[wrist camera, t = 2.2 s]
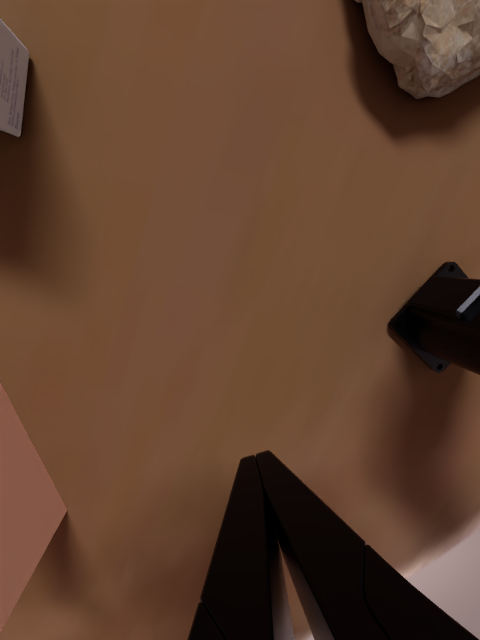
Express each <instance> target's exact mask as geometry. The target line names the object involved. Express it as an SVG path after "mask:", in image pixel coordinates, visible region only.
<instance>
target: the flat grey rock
mask: <svg viewBox="0 0 480 640" xmlns="http://www.w3.org/2000/svg"><path fill="white" fill-rule="evenodd" d="M355 1H356V2H358V3H361V2H362V3H363V8H364V13H365V18H366V23H367V28H368V32H369V34H370V36H371V38H372V40H373V42H374V44H375V46H376V48H377V50H378V52H379V54H380V55H382V56H383V57H384V58H385V59H387V60H388V61H389V62H390V63H392V64H393V66H394V69H395V73H396V76H397V81H398V86H399V87H400V88H402V89H403V90H405V91H407V92H408V93H409V94H411V95H412V96H413V97H415V98H416V99H420V98H424V97H427V96H428V97H438V98H439V97H442V96H444V95H446V94H449V93H451V92H452V91H454V90H455V89H457V88H458V87H460V86H461V85H463V84H465V83H467V82H469V81H471V80H473V79H474V78H476V77H478V76H479V75H480V0H355Z"/></svg>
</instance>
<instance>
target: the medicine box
mask: <svg viewBox="0 0 480 640" xmlns="http://www.w3.org/2000/svg"><path fill="white" fill-rule="evenodd" d="M28 61H29V52H28V50H27V48H26V47H25V46H24V45H23V44H22V43H21V42H20V40H19V39H18V38H17V37H16V36H15V35H14V34H13V32H12V31H11V30H10V29H9V28H8V27H7V26H6V25H5V24H4V22H3V21H2V20H1V19H0V130H1V131H4V132H7V133H9V134H12V135H14V136H16V137H20V135H21V127H22V118H23V108H24V99H25V89H26V79H27V70H28Z"/></svg>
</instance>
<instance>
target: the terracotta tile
mask: <svg viewBox="0 0 480 640" xmlns="http://www.w3.org/2000/svg"><path fill="white" fill-rule="evenodd" d="M66 512H67V509H66V507H65V505H64V503H63V501H62V499H61V497H60V495H59V493H58V492H57V490H56V488H55V486H54V484H53V482H52V480H51V478H50V476H49V474H48V472H47V471H46V469H45V467H44V465H43V463H42V461H41V459H40V457H39V455H38V453H37V451H36V450H35V448H34V446H33V444H32V442H31V440H30V438H29V436H28V434H27V432H26V431H25V429H24V427H23V425H22V423H21V421H20V419H19V417H18V415H17V413H16V411H15V410H14V408H13V406H12V404H11V402H10V400H9V398H8V396H7V394H6V392H5V390H4V389H3V387H2V385H1V383H0V632H1V630H2V629H3V627H4V625H5V623H6V621H7V619H8V618H9V616H10V614H11V612H12V610H13V609H14V607H15V605H16V603H17V601H18V599H19V598H20V596H21V594H22V592H23V590H24V588H25V587H26V585H27V583H28V581H29V579H30V577H31V576H32V574H33V572H34V570H35V568H36V566H37V565H38V563H39V561H40V559H41V557H42V556H43V554H44V552H45V550H46V548H47V546H48V545H49V543H50V541H51V539H52V537H53V535H54V534H55V532H56V530H57V528H58V526H59V524H60V523H61V521H62V519H63V517H64V515H65V513H66Z"/></svg>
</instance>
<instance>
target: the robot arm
mask: <svg viewBox="0 0 480 640" xmlns="http://www.w3.org/2000/svg"><path fill="white" fill-rule="evenodd" d="M449 267H450V269H449ZM448 269H449V270H448ZM397 322H398V325H397V326H396V323H397ZM389 326H390V328H391V329H392V330H393V331H394V332H395V333H396V334H397V335H398V336H399V337H400V338H401V339H402V340H403V341H404V342H405V343H406V344H407V345H408V346H409V347H410V348H411V349H412V350H413V351H414V352H415V353H416V354H417V355H418V356H419V358H420V359H421V360H422V361H423V362H424V363H425V364H426V365H427V366H428V367H429V368H430V369H431V370H433V371H435V372H438V373H439V372H442V371H443V370H444V369H445V368H446V367H447V366H448V365H449V364H450V363H452V364H455V365H457V366H460V367H462V368H464V369H467V370H469V371H471V372H474V373H476V374H479V375H480V279H469V278H468V277H467V276H466V275H465V273H464V272H463V271H462V270H461V268H460V267H459V266H458V265H457V264H456V263H455V262H445V263H444V264H443V265H442V266H441V267H440V268H439V269H438V270H437V271H436V272H435V273H434V274H433V275H432V276H431V277H430V278H429V279H428V280H427V281H426V283H425V284H424V285H423V286H422V287H421V288H420V289H419V290H418V291H417V292H416V293H415V294H414V295H413V296H412V298H411V299H410V300H409V301H408V302H407V303H406V304H405V305H404V306H403V308H402V309H401V310H400V311H399V312H398V313H397V314H396V315H395V316H394V317H393V318H392V319H391V321H390V323H389ZM437 366H438V367H437ZM274 527H275V528H274ZM275 531H276V532H275ZM277 538H278V539H277ZM278 542H279V544H278ZM279 545H280V548H281V551H282V554H283V557H284V560H285V562H286V565H287V568H288V570H289V573H290V576H291V578H292V581H293V584H294V586H295V589H296V592H297V594H298V597H299V600H300V602H301V605H302V607H303V610H304V613H305V615H306V618H307V621H308V623H309V626H310V629H311V631H312V634H313V637H314V639H315V640H479V639H478V638H476V637H475V636H474V635H473V634H471V633H470V632H469V631H468V630H466V629H465V628H464V627H463V626H461V625H460V624H459V623H458V622H456V621H455V620H454V619H453V618H451V617H450V616H449V615H447V614H446V613H445V612H444V611H443V610H442V609H440V608H439V607H438V606H437V605H435V604H434V603H433V602H432V601H431V600H429V599H428V598H427V597H426V596H425V595H423V594H422V593H421V592H420V591H418V590H417V589H416V588H415V587H414V586H413V585H411V584H410V583H409V582H408V581H407V580H406V579H405V578H404V577H403V576H402V575H400V574H399V573H398V572H397V571H396V570H395V569H394V568H393V567H392V566H391V565H389V564H388V563H387V562H386V561H385V560H384V559H383V558H382V557H381V556H380V555H379V554H378V553H377V552H376V551H375V550H374V549H372V548H371V547H370V546H369V545H366V543H365V541H364V540H363V539H362V538H361V537H360V536H359V535H358V534H357V533H355V532H354V531H353V530H352V529H351V528H350V527H349V526H348V525H347V524H346V523H345V522H344V521H343V520H342V519H341V518H340V517H339V516H338V515H337V514H336V513H335V512H333V511H332V510H331V509H330V508H329V507H328V506H327V505H326V504H325V503H324V502H323V501H322V500H321V499H320V498H319V497H318V496H317V495H316V494H315V493H314V492H313V491H311V490H310V489H309V488H308V487H307V486H306V485H305V484H304V483H303V482H302V481H301V480H300V479H299V478H298V477H297V476H296V475H295V474H294V473H293V472H292V471H291V470H289V469H288V468H287V467H286V466H285V465H284V464H283V463H282V462H281V461H280V460H279V459H278V458H277V457H276V456H275V455H274V454H273V453H272V452H271V451H269V450H267V451H264V452H260V453H257V454H256V457H255V456H254V455H251V456H248V457H244V458H242V459H241V460H240V463H239V466H238V470H237V473H236V477H235V480H234V483H233V487H232V490H231V494H230V497H229V501H228V504H227V507H226V511H225V514H224V518H223V521H222V524H221V528H220V531H219V535H218V538H217V542H216V545H215V548H214V552H213V555H212V559H211V562H210V566H209V569H208V572H207V576H206V579H205V583H204V586H203V590H202V593H201V596H200V601H201V602H199V603H198V606H197V610H196V613H195V616H194V620H193V623H192V627H191V630H190V633H189V636H188V640H295V639H294V633H293V627H292V621H291V614H290V608H289V602H288V596H287V589H286V583H285V577H284V571H283V565H282V559H281V553H280V548H279Z"/></svg>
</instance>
